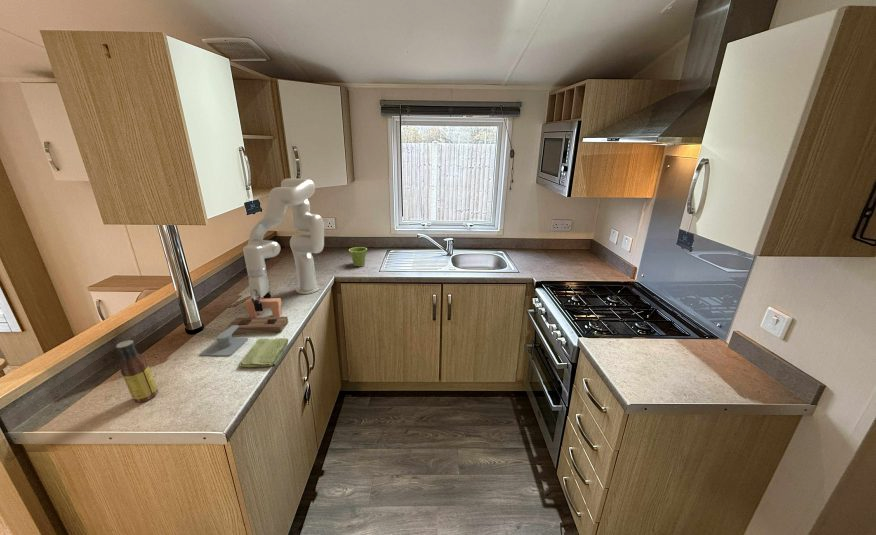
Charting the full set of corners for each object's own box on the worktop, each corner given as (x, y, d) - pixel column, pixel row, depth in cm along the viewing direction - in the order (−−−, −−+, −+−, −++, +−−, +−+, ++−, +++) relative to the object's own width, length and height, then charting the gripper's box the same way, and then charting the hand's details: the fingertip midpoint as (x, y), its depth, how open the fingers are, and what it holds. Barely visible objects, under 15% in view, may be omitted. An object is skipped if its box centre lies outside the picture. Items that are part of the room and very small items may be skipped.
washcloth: (237, 370, 119) (235, 363, 118) (258, 343, 136) (257, 336, 135) (274, 369, 120) (273, 361, 119) (291, 342, 137) (290, 335, 136)
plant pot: (371, 265, 226) (370, 249, 222) (357, 269, 218) (355, 253, 214) (361, 261, 234) (360, 245, 230) (346, 265, 225) (345, 249, 221)
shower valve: (250, 325, 139) (227, 345, 125) (253, 336, 141) (230, 357, 127) (221, 324, 140) (195, 344, 126) (224, 335, 142) (199, 356, 127)
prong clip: (250, 314, 159) (247, 299, 156) (283, 313, 160) (280, 298, 157) (247, 317, 156) (244, 302, 153) (280, 316, 157) (277, 301, 154)
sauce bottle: (149, 388, 110) (131, 335, 103) (163, 392, 108) (145, 338, 102) (127, 402, 104) (105, 346, 97) (141, 406, 102) (120, 350, 96)
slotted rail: (237, 324, 150) (236, 318, 149) (288, 322, 152) (287, 316, 151) (227, 334, 142) (225, 328, 141) (280, 332, 143) (279, 326, 142)
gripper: (257, 265, 158) (263, 298, 164) (239, 279, 142) (246, 315, 148) (273, 265, 159) (279, 298, 165) (257, 278, 143) (264, 314, 148)
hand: (263, 306), depth 156 cm, fingers open, 9 cm apart
